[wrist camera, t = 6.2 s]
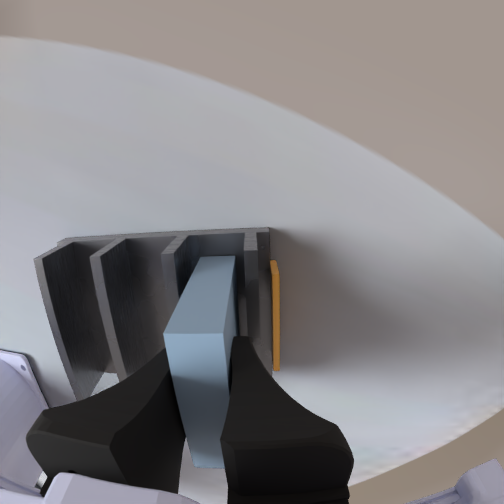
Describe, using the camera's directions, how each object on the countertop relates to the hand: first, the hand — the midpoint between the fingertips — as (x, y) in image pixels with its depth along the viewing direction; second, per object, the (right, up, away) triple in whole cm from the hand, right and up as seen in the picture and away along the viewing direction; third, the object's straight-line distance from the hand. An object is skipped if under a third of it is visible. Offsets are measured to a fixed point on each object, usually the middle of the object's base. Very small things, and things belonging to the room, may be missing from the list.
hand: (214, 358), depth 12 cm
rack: (-3, +1, +5) cm, 6 cm away
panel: (0, +1, +4) cm, 4 cm away
